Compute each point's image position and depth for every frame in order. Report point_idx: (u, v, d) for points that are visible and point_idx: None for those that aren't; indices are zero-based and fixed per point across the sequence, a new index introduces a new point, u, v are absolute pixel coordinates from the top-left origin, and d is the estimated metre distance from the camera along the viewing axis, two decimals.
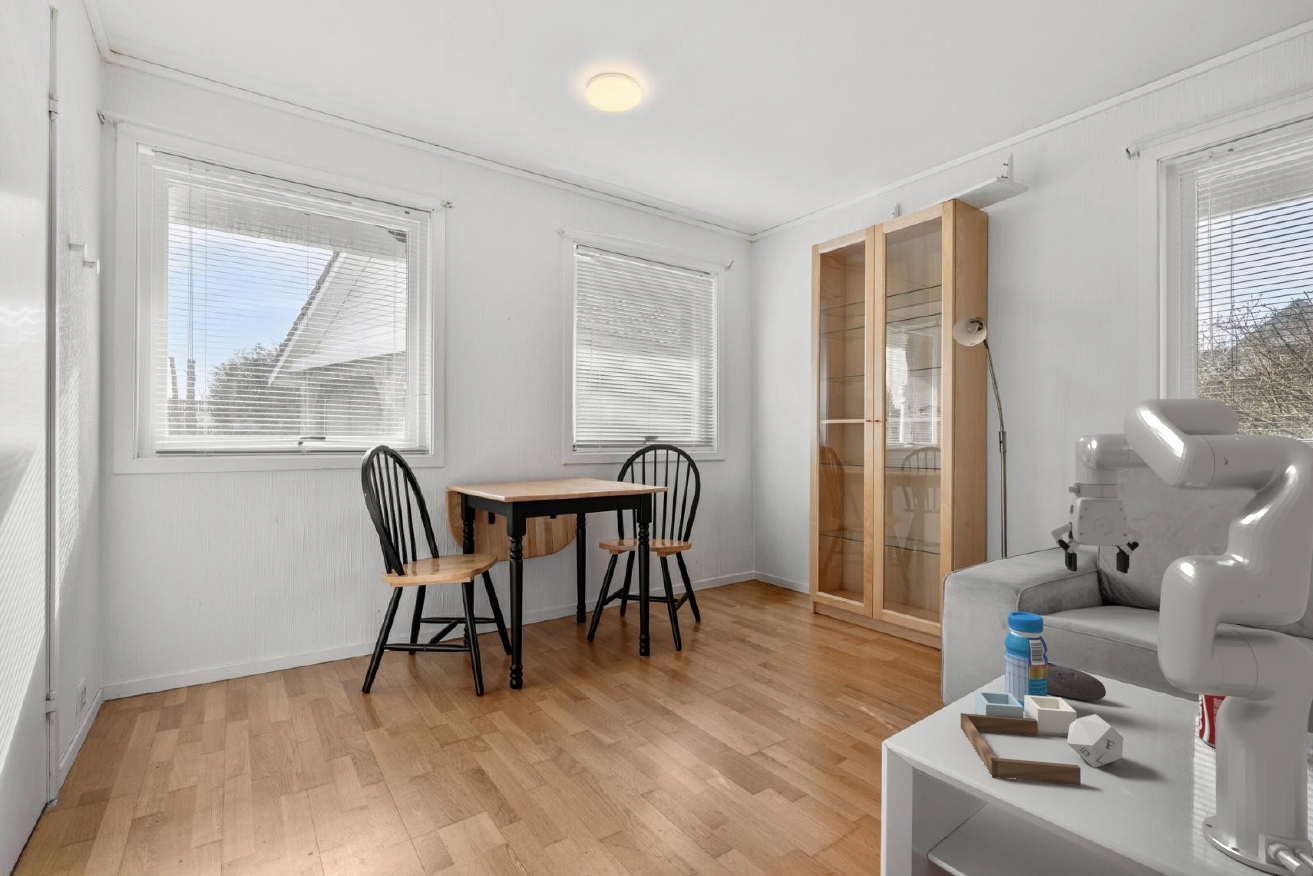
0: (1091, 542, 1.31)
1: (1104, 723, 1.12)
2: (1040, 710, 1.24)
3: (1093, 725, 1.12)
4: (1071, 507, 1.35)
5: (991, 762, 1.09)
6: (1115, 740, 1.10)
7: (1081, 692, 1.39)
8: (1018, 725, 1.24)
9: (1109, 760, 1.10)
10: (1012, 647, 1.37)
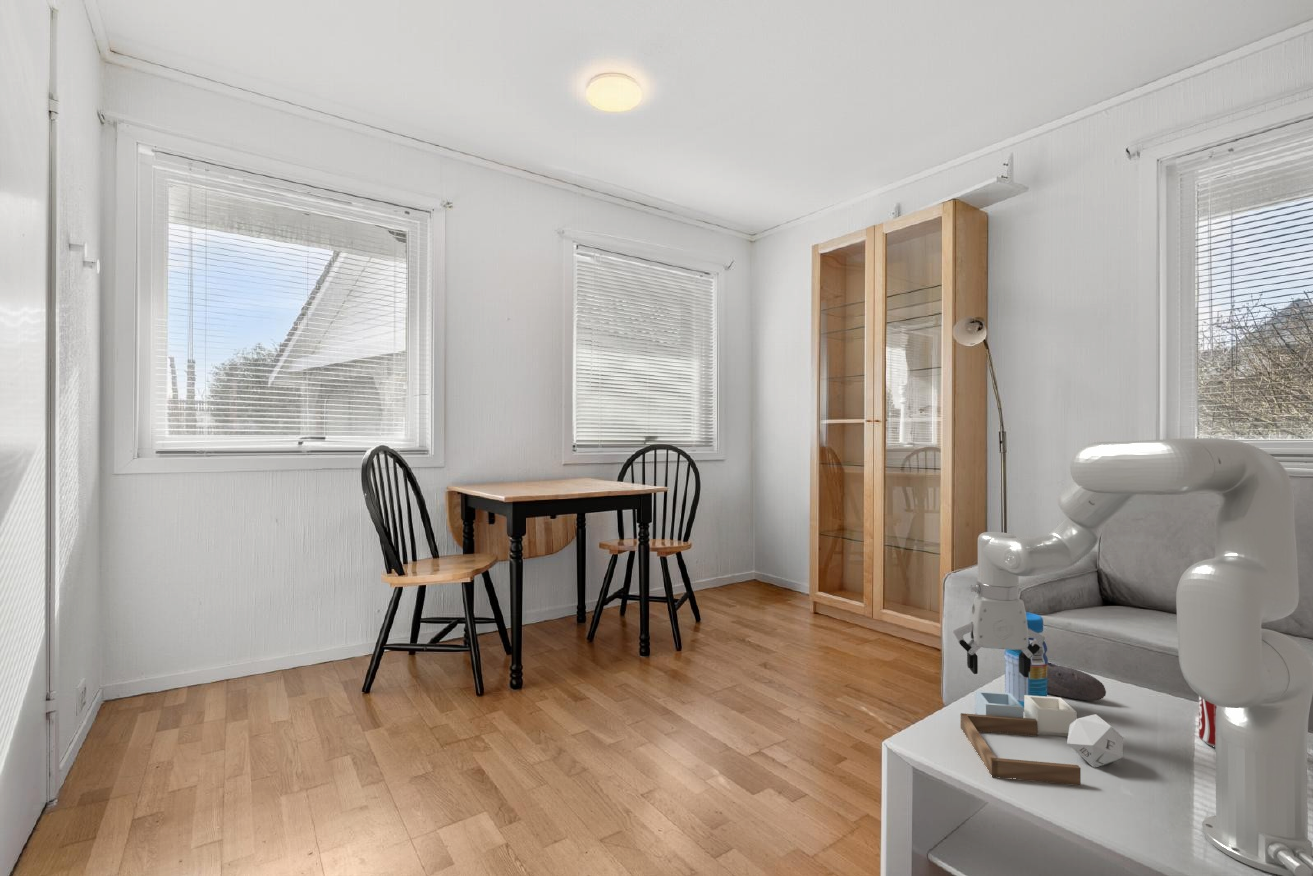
0: (991, 645, 1.27)
1: (1104, 723, 1.12)
2: (1040, 710, 1.24)
3: (1093, 725, 1.12)
4: (973, 606, 1.31)
5: (991, 762, 1.09)
6: (1115, 740, 1.10)
7: (1081, 692, 1.39)
8: (1018, 725, 1.24)
9: (1109, 760, 1.10)
10: None
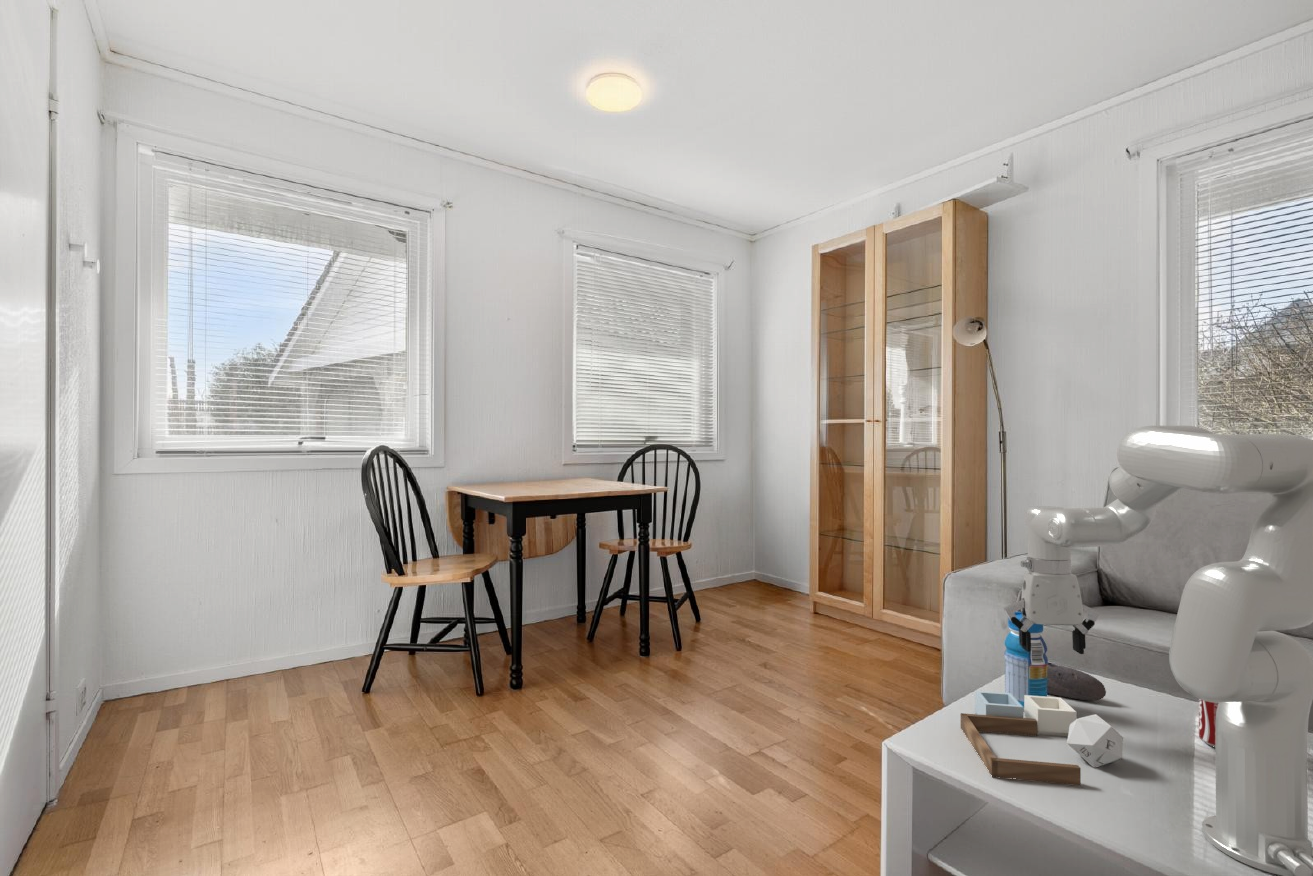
0: (1044, 621, 1.24)
1: (1104, 723, 1.12)
2: (1040, 710, 1.24)
3: (1093, 725, 1.12)
4: (1024, 582, 1.29)
5: (991, 762, 1.09)
6: (1115, 740, 1.10)
7: (1081, 692, 1.39)
8: (1018, 725, 1.24)
9: (1109, 760, 1.10)
10: (1012, 647, 1.37)
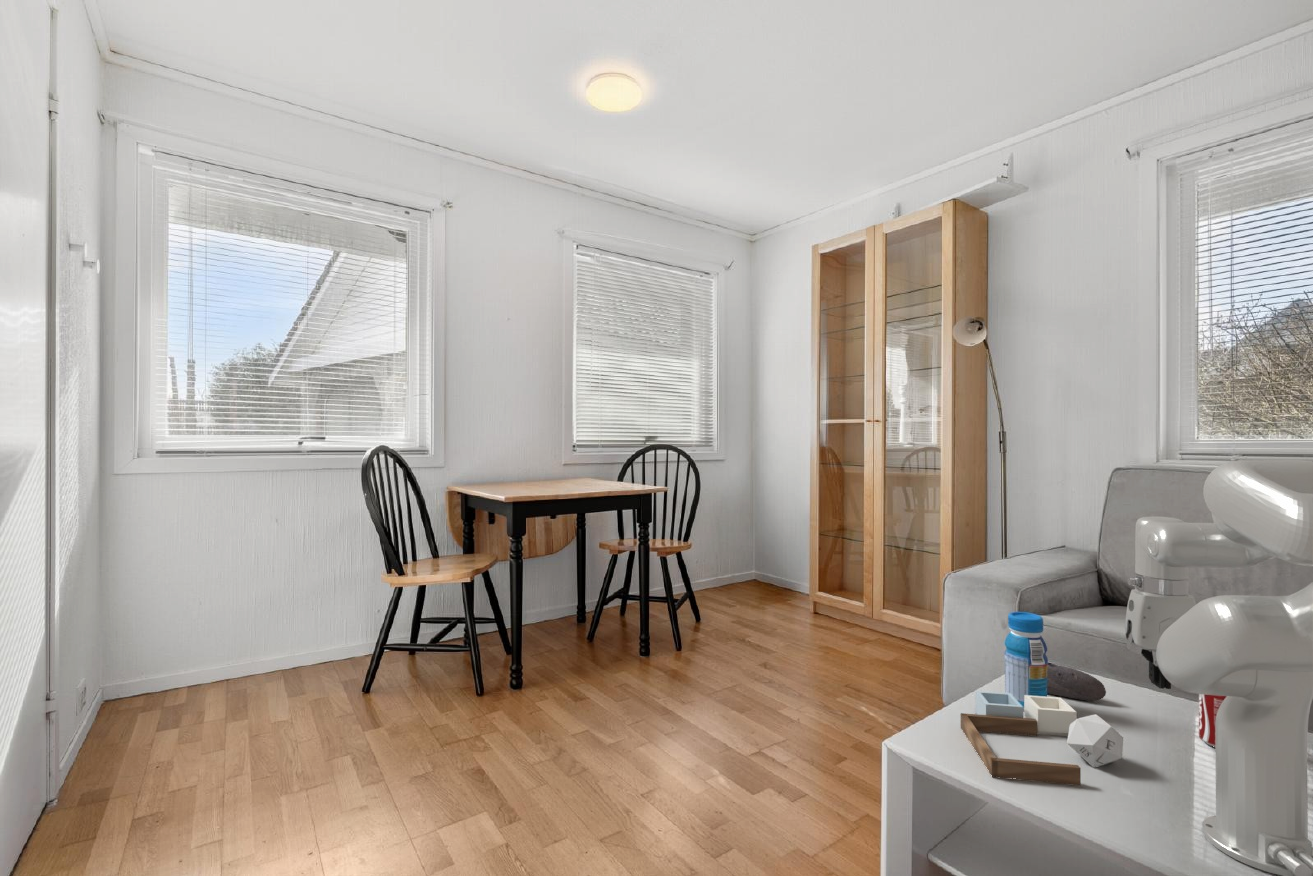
0: (1156, 647, 1.10)
1: (1104, 723, 1.12)
2: (1040, 710, 1.24)
3: (1093, 725, 1.12)
4: (1130, 602, 1.14)
5: (991, 762, 1.09)
6: (1115, 740, 1.10)
7: (1081, 692, 1.39)
8: (1018, 725, 1.24)
9: (1109, 760, 1.10)
10: (1012, 647, 1.37)
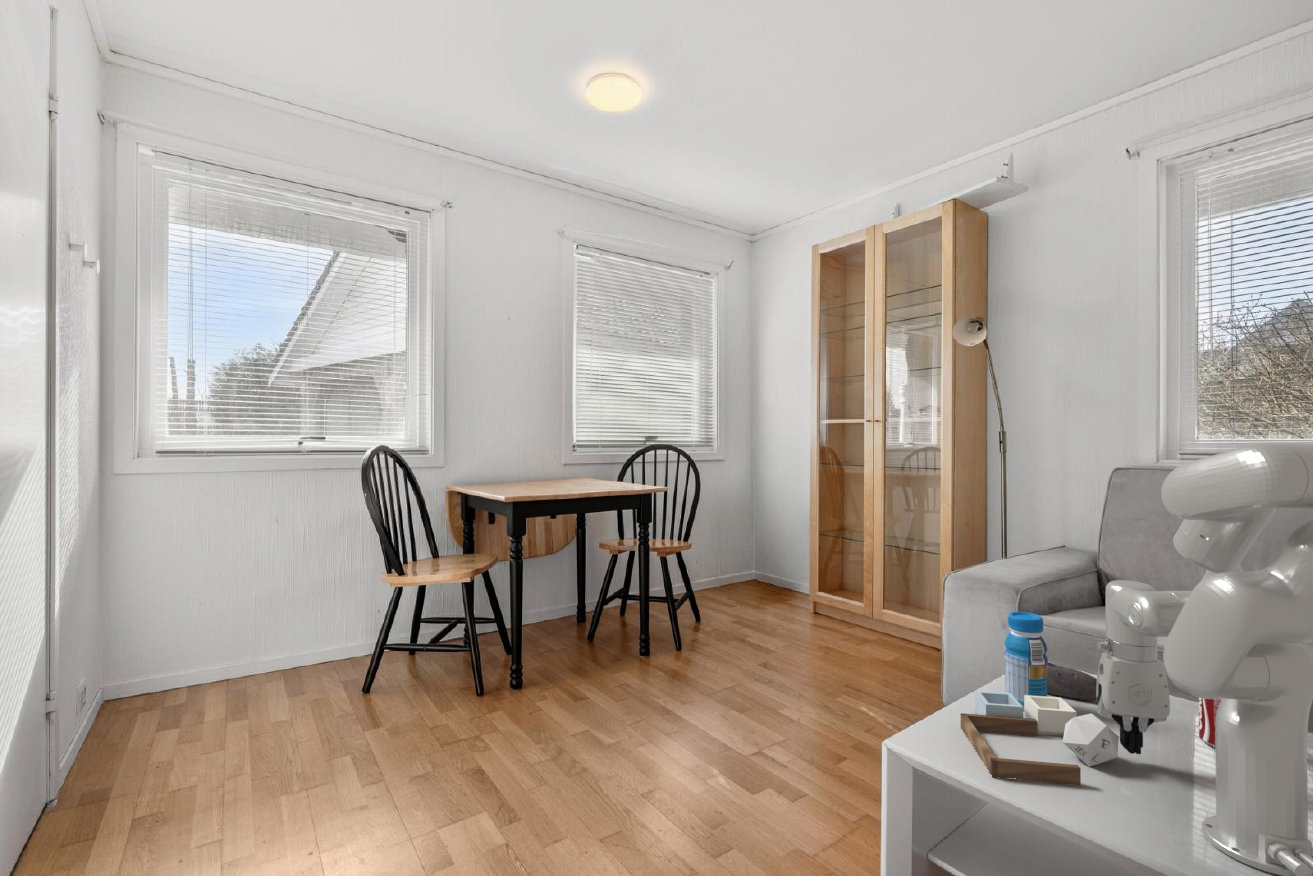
0: (1125, 713, 1.11)
1: (1099, 722, 1.13)
2: (1040, 710, 1.24)
3: (1088, 724, 1.13)
4: (1100, 665, 1.15)
5: (991, 762, 1.09)
6: (1110, 739, 1.11)
7: (1081, 692, 1.39)
8: (1018, 725, 1.24)
9: (1104, 759, 1.11)
10: (1012, 647, 1.37)
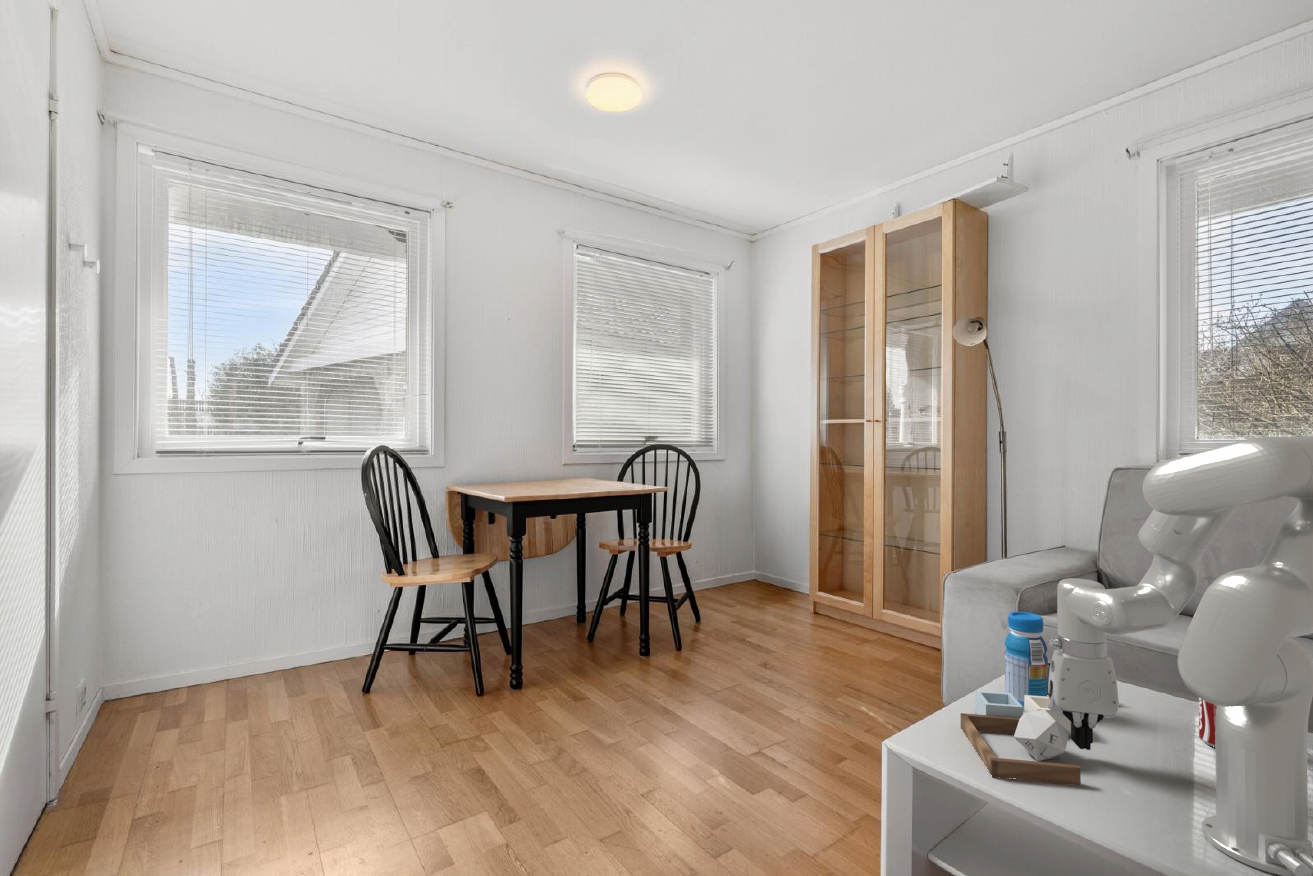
0: (1075, 709, 1.12)
1: (1049, 718, 1.15)
2: None
3: (1038, 720, 1.15)
4: (1052, 662, 1.16)
5: (991, 762, 1.09)
6: (1058, 734, 1.13)
7: None
8: None
9: (1052, 754, 1.12)
10: (1012, 647, 1.37)
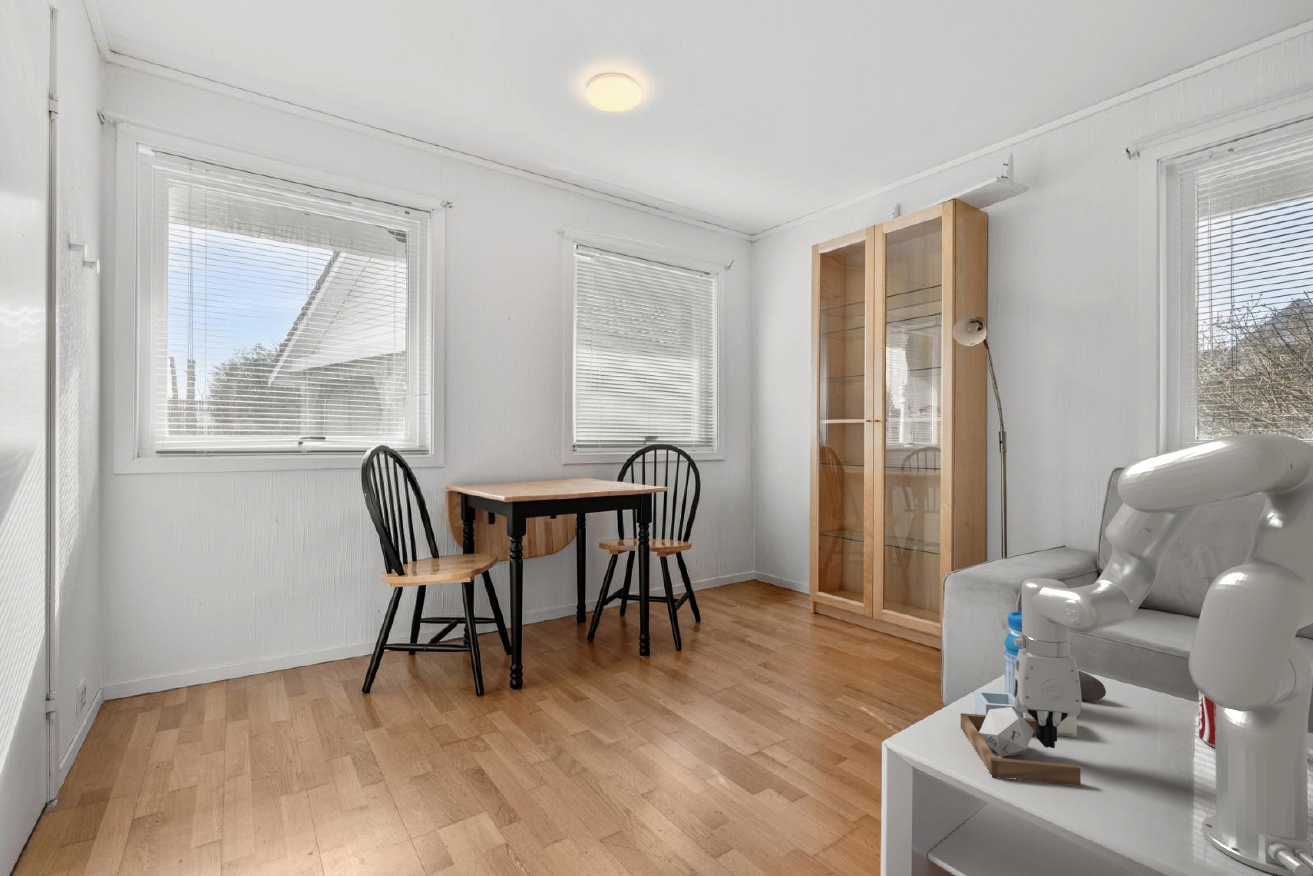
0: (1039, 707, 1.13)
1: (1013, 715, 1.16)
2: None
3: (1002, 716, 1.16)
4: (1017, 661, 1.17)
5: (991, 762, 1.09)
6: (1021, 731, 1.14)
7: (1081, 692, 1.39)
8: None
9: (1014, 750, 1.14)
10: (1012, 647, 1.37)
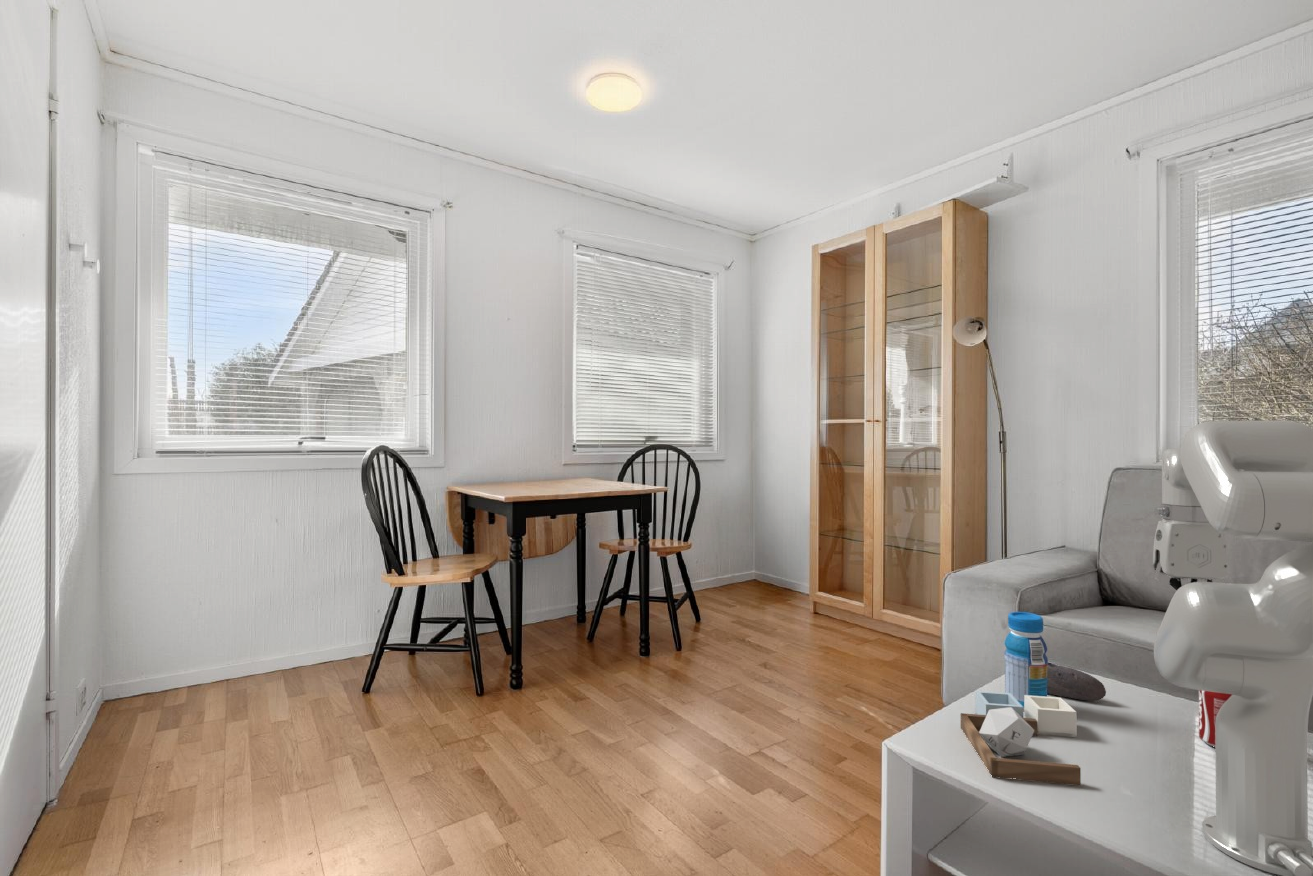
0: (1184, 574, 1.11)
1: (1013, 715, 1.16)
2: (1040, 710, 1.24)
3: (1002, 717, 1.16)
4: (1157, 532, 1.16)
5: (991, 762, 1.09)
6: (1021, 731, 1.14)
7: (1081, 692, 1.39)
8: None
9: (1014, 750, 1.14)
10: (1012, 647, 1.37)
